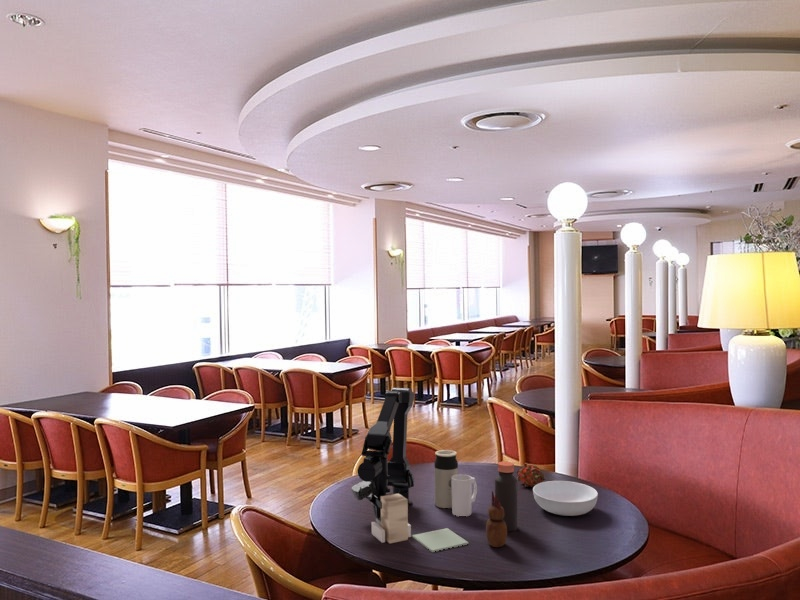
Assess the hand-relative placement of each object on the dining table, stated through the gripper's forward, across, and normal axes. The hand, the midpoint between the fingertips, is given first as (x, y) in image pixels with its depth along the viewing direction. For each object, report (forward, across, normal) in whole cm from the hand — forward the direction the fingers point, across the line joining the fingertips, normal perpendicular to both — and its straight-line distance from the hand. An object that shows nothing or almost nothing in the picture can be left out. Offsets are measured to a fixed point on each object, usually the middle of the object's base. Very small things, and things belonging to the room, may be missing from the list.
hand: (378, 521), depth 195 cm
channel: (+1, +9, 0) cm, 9 cm away
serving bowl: (+2, +17, +60) cm, 62 cm away
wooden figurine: (+1, +29, +24) cm, 38 cm away
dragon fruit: (+2, -9, +66) cm, 67 cm away
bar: (+1, +5, 0) cm, 5 cm away
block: (+1, +11, 0) cm, 11 cm away
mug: (+2, +3, +30) cm, 30 cm away
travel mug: (+2, -6, +28) cm, 29 cm away
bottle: (+1, +20, +34) cm, 40 cm away
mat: (+1, +19, +11) cm, 22 cm away
